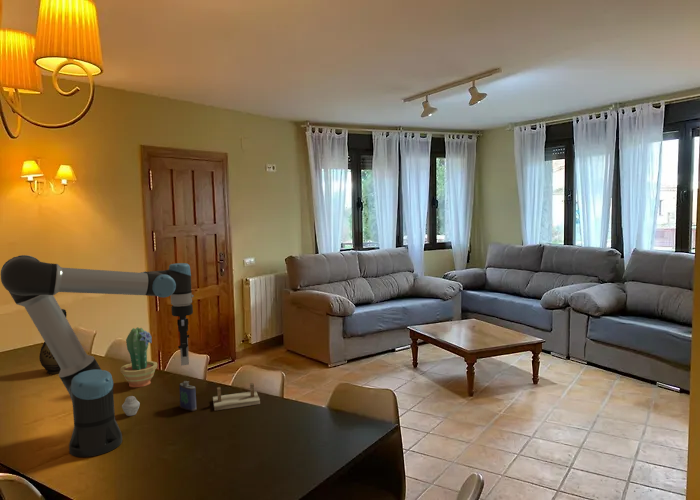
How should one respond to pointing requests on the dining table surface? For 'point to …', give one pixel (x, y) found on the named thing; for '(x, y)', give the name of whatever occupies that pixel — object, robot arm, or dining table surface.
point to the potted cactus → (138, 359)
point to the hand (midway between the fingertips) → (185, 359)
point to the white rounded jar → (130, 406)
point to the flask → (187, 396)
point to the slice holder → (235, 399)
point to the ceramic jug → (49, 357)
